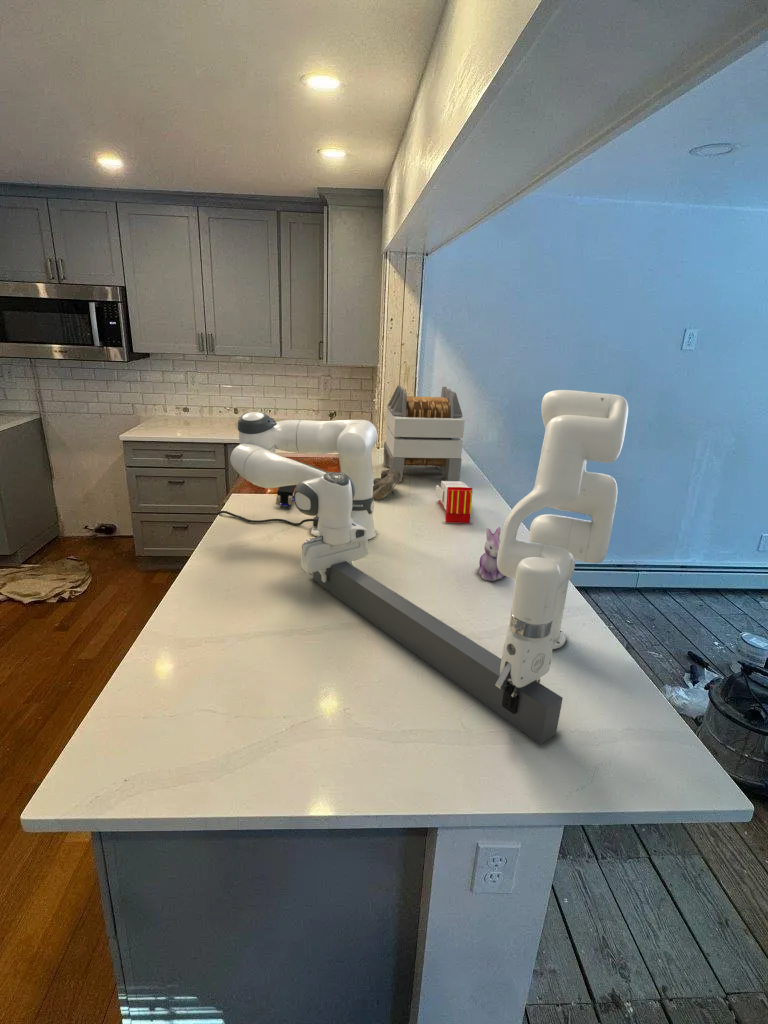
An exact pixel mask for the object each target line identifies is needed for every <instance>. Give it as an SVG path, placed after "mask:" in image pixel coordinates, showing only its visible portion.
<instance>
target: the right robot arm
mask: <svg viewBox="0 0 768 1024" xmlns="http://www.w3.org/2000/svg"><path fill="white" fill-rule="evenodd" d="M540 410H541V419H542V423H543V427H544V430H545V431H544V435H543V441H542V445H541V449H540V450H541V451H540V457H539V458H540V459H539V462H538V467H537V472H536V477H535V482H534V486H533V488H532V490H531V491H530V492H529V493H528V494H526V496H524V497H523V498H521V499H520V500H519V501H518V502H517V503H516V504H515V505H514V506H513V507H512V509H511V510H510V512H509V513H508V515H507V517H506V518H505V521H504V524H503V527H502V530H501V534H500V545H499V550H498V556H497V567H498V570H499V571H500V573H501V574H503V575H504V576H505V577H507V578H512V579H514V580H515V581H514V586H513V587H514V588H513V595H512V596H513V597H512V603H511V610H510V617H509V619H510V620H509V625H508V627H509V630H508V631H507V633H506V634H507V635H506V638H505V642H504V645H503V649H502V654H501V658H500V659H501V665H500V677H499V679H498V680H497V682H496V684H495V686H497V687H498V688H500V689H501V690H503V691H504V693H503V700H502V706H503V707H504V708H505V709H507V710H508V711H509V712H511V713H512V714H516V713H517V706H518V700H519V696H517V693H518V690H519V688H520V687H523V686H526V685H528V684H529V683H531V682H533V681H537V682H539V683H540V684H541V678H542V677H543V676H545V675H546V674H548V673H549V672H550V669H551V664H552V656H553V650H557V649H560V648H562V647H563V646H564V645H565V643H566V639H567V637H566V633H565V632H564V630H563V629H562V623H563V618H564V617H563V616H564V610H565V605H566V600H567V593H568V587H569V581H570V580H571V579H572V578H573V576H574V573H575V567H576V562H581V563H588V564H600V563H602V562H604V560H605V559H606V557H607V554H608V551H609V548H610V547H609V546H610V542H611V537H612V536H611V535H612V530H613V524H614V519H615V513H616V507H617V501H618V483H617V481H616V479H615V478H614V477H613V476H611V475H609V474H606V473H599V472H593V471H587V462H588V461H590V462H599V463H606V464H609V463H610V464H611V463H613V462H615V461H616V460H617V459H618V458H619V456H620V454H621V451H622V449H623V446H624V441H625V436H626V430H627V422H628V416H629V403H628V401H627V399H626V398H625V397H624V396H622V395H619V394H612V393H603V392H591V391H583V390H574V389H573V390H572V389H571V390H570V389H555V390H551V391H548V392H546V393H545V394H544V395H543V397H542V400H541V407H540ZM545 508H550V509H553V510H557V511H561V512H569V513H575V514H582V515H587V516H589V517H590V518H591V520H588V519H581V518H575V517H572V516H564V515H559V514H547V513H545V514H540V515H538V516H536V517H535V518H533V520H532V521H531V524H530V526H529V532H528V533H529V534H528V535H529V541H528V540H523V539H522V540H521V539H517V535H518V530H519V528H520V526H521V524H522V522H523V521H524V520H525V519H526V518H527V517H528V516H529V515H531V514H533V513H536V512H537V511H540V510H542V509H545ZM504 576H503V577H504ZM510 682H512V683H513V685H514V687H513V689H512V688H511V687H509V684H510Z"/></svg>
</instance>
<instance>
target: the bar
mask: <svg viewBox="0 0 768 1024" xmlns="http://www.w3.org/2000/svg"><path fill="white" fill-rule="evenodd" d="M324 573H325V574H327V575H328V576H329V581H328V582H325V583H324V582H323V581H322V580H321V574H320V573H319V571H316V572H312V580H313V581H314V582H315V583H317V584H318V585H319V586H321V587H322V588H324V589H325V590H326V591H327V592H329V593H330V594H332V595H333V596H335V597H336V598H337V599H339V600H340V601H341V602H343V603H344V604H345V605H347V606H348V607H350V608H351V609H353V610H354V611H355V612H357V613H358V614H359V615H361V616H362V617H364V618H365V619H367V620H368V622H370V623H372V624H373V625H374V626H376V627H377V628H379V629H380V630H382V632H384V633H386V634H387V635H389V636H390V637H391V638H392V639H394V640H395V641H396V642H398V643H399V644H401V645H402V646H404V647H405V649H408V650H409V651H410V652H412V653H413V654H414V655H416V656H418V658H420V659H421V660H423V661H424V662H426V663H427V664H428V665H429V666H431V667H432V668H434V669H436V670H437V671H439V672H440V673H441V674H442V675H443V676H445V677H447V679H449V680H450V681H452V682H453V683H454V684H456V685H457V686H458V687H460V688H461V689H463V690H464V691H466V692H467V693H468V694H470V695H471V696H472V697H474V698H475V699H476V700H478V701H480V702H481V703H482V704H483V705H484V706H486V707H488V708H489V709H490V710H492V712H494V713H496V714H497V715H499V716H500V717H501V718H503V719H504V720H506V721H507V722H508V723H510V724H511V725H512V726H514V727H515V728H517V729H518V730H519V731H520V732H522V733H524V734H525V735H526V736H528V737H529V738H530V739H532V740H533V741H534V742H535V743H537V744H538V745H540V746H541V745H543V744H544V743H545V742H547V741H549V740H550V739H551V738H553V737H554V736H556V735H557V732H558V731H557V730H558V726H559V721H560V716H561V711H562V704H563V699H564V697H562V696H561V695H559V694H558V693H556V692H555V691H553V690H551V689H550V688H548V687H547V686H545V685H544V684H541V682H540V683H539V682H537V681H533V682H531V683H529V684H528V685H526V686H523V687H520V688H519V690H518V693H517V696H519V700H518V706H517V713H516V714H512V713H511V712H509V711H508V710H507V709H505V708H504V707H503V706H502V700H503V693H504V691H503V690H501V689H500V688H498V687H497V686H495V684H496V682H497V680H498V679H499V677H500V665H501V659H502V658H501V657H499V656H497V655H496V654H494V653H493V652H491V651H489V650H488V649H486V648H484V647H483V646H481V645H480V644H478V643H476V642H475V641H473V640H471V638H468V637H467V636H466V635H464V634H462V632H459V631H458V630H456V629H454V628H453V627H452V626H449V625H448V624H446V623H445V622H443V621H442V620H440V619H438V618H437V617H435V616H433V615H432V614H431V613H429V612H427V611H425V610H424V609H423V608H421V607H420V606H418V605H416V604H414V603H413V602H412V601H410V600H408V599H407V598H405V597H403V596H402V595H401V594H399V593H397V592H395V591H394V590H392V589H391V588H389V587H387V586H386V585H385V584H383V583H381V582H379V581H378V580H376V579H375V578H373V577H371V576H370V575H368V574H367V573H365V572H364V571H362V570H360V569H359V568H357V567H356V566H354V565H353V564H349V563H348V562H346V561H345V562H341V563H338V564H334V565H331V567H330V568H326V572H324ZM509 687H511V688H512V689H513V687H514V685H513V683H512V682H510V684H509Z"/></svg>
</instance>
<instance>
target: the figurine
mask: <svg viewBox="0 0 768 1024" xmlns="http://www.w3.org/2000/svg"><path fill="white" fill-rule="evenodd" d="M501 529H502V528H501V527H500V526H499V527H497V528H496V530H495V531H494V532H492V530H491V529H490V528H489V527H487V528H486V529H485V534H486V542H485V544H484V546H483V547H484V553H483V554H482V555H481V556H480V557H479V567H478V575H479V576H480V577H481V579H483V580H485V581H491V582H495V581H497V580H501V579H503V578H504V575H503V574H501V573H500V571H499V570H498V567H497V556H498V550H499V545H500V540H501V533H502V530H501Z"/></svg>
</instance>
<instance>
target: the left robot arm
mask: <svg viewBox="0 0 768 1024" xmlns="http://www.w3.org/2000/svg"><path fill="white" fill-rule="evenodd" d="M237 431H238V442H239V444H238V445H236V447H235V448H233V450H232V451H231V453H230V457H229V459H230V460H229V461H230V465H231V467H232V468H233V469H234V470H235V472H236V473H237V474H238V475H239V476H241V477H242V478H243V479H245V480H246V481H248V482H249V483H251V484H253V485H254V486H257V487H259V488H262V489H263V488H264V489H277V488H279V487H283V486H289V485H296V487H295V490H294V501H293V503H294V506H295V508H296V509H297V510H298V511H299V512H300V513H302V514H304V515H305V516H310V517H313V518H305V519H302V520H301V521H300V522H292V521H289V520H287V519H283V518H269V519H260V520H259V519H256V520H254V519H248V518H245V517H244V516H241V515H237V514H235V513H233V512H230V511H227V510H220V511H218V512H217V513H215V514H216V515H217V516H219V515H221V514H227V515H230V516H231V517H234V518H238V519H240V520H243V521H245V522H247V523H252V524H261V523H268V522H269V523H270V522H283V523H286V524H289V525H291V526H296V527H297V526H301V525H303V524H304V523H307V522H312V528H311V530H310V533H311V536H315V537H311V538H307V539H306V540H305V541H304V542H303V543H302V544H301V557H300V568H301V569H302V570H303V571H304V572H306V574H307V573H308V574H313V572H316V571H319V573H320V574H321V580H322V581H323V582H324V583H325V582H328V581H329V576H328V575H327V574H325V573H324V572H326V568H330V567H331V565H334V564H338V563H341V562H345V561H346V562H348V563H349V564H351V565H353V564H352V562H354V561H355V562H356V561H357V560H361V559H365V558H366V557H367V555H368V553H369V540H372V539H373V538H375V537H376V535H377V532H376V528H375V523H374V513H373V512H374V509H375V499H374V496H373V486H374V484H373V480H374V470H373V460H372V457H373V456H372V452H373V448H374V447H375V446H376V444H377V442H378V430H377V427H376V425H374V423H373V422H371V421H369V420H367V419H339V420H336V419H335V420H313V419H312V420H311V419H285V420H278V421H276V420H275V419H274V418H272V417H271V416H270V415H268V414H266V413H264V412H261V411H249V412H245V413H243V414H241V416H240V417H238V420H237ZM277 450H280V451H282V452H283V451H284V452H287V453H294V454H311V455H328V454H337V455H338V464H339V471H338V472H335V471H327V470H325V469H323V468H319V467H316V466H313V465H311V464H308V463H305V462H301V461H298V460H295V459H292V458H289V457H285V456H282V455H280V454H278V453H277Z"/></svg>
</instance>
